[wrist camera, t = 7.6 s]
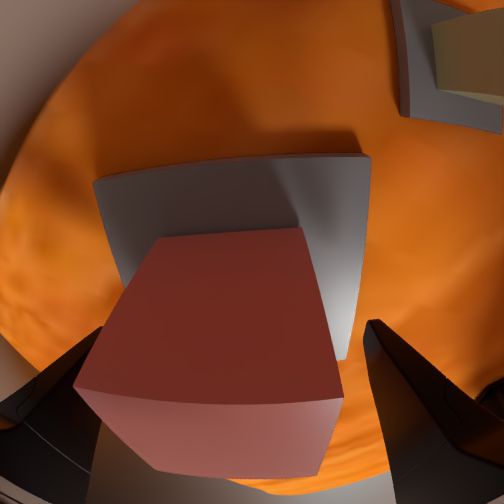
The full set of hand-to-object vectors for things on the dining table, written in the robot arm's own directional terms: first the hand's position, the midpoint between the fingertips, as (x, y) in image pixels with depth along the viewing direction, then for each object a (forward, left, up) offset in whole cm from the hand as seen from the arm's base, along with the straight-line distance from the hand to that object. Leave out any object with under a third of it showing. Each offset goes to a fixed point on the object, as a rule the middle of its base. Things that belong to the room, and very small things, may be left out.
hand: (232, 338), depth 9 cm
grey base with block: (+9, -9, -4) cm, 13 cm away
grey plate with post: (0, 0, -4) cm, 4 cm away
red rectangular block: (0, 0, -2) cm, 3 cm away
